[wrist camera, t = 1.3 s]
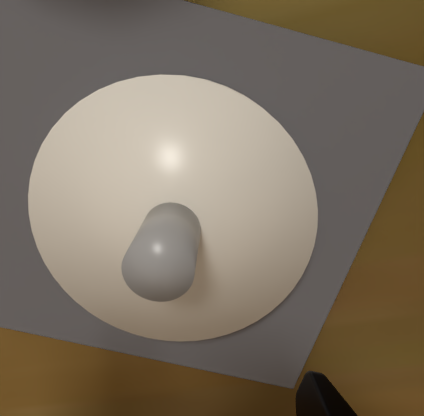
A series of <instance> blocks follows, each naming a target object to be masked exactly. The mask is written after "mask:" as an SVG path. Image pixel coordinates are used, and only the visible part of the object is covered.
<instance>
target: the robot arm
mask: <svg viewBox="0 0 424 416" xmlns="http://www.w3.org/2000/svg"><path fill="white" fill-rule="evenodd" d="M296 416H357V414H356V413H355V412H354V411H353V409H352V408H351V407H350V406H349V404H348V403H347V402H346V401H345V400H344V398H343V397H342V396H341V395H340V393H339V392H338V391H337V390H336V388H335V387H334V386H333V385H332V383H331V382H330V381H329V380H328V379H327V377H326V376H325V375H324V374H322V373H318V372H313V371H308V372H307V373H306V374H305V376H304V378H303V380H302V382H301V384H300V386H299V388H298V390H297V393H296Z"/></svg>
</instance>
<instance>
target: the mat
mask: <svg viewBox="0 0 424 416" xmlns="http://www.w3.org/2000/svg"><path fill="white" fill-rule="evenodd" d="M160 74H162V75H185V76H191V77H196V78H202V79H207V80H210V81H212V82H215V83H218V84H221V85H224V86H227V87H229V88H231V89H233V90H235V91H237V92H239V93H241V94H243V95H245V96H246V97H248V98H249V99H251V100H252V101H254V102H255V103H257V104H258V105H259V106H261V107H262V108H263V109H265V110H266V111H267V112H268V113H269V114H270V115H271V116H272V117H273V118H274V119H276V120H277V121H278V122H279V123H280V124H281V125H282V127H283V128H284V129H285V130H286V132H287V133H288V134H289V135H290V136H291V138H292V139H293V140H294V142H295V144H296V145H297V147H298V148H299V150H300V152H301V153H302V155H303V157H304V159H305V161H306V164H307V166H308V168H309V171H310V173H311V176H312V180H313V183H314V187H315V191H316V198H317V206H318V227H317V234H316V239H315V245H314V248H313V251H312V254H311V257H310V260H309V263H308V265H307V267H306V269H305V271H304V273H303V275H302V277H301V278H300V280H299V281H298V283H297V284H296V286H295V287H294V289H293V290H292V291H291V292H290V293H289V294H288V296H287V297H286V298H285V299H284V300H283V301H282V302H281V303H280V304H279V305H278V306H277V307H276V308H274V309H273V310H272V311H271V312H270V313H268V314H267V315H265V316H264V317H262V318H261V319H259V320H258V321H256V322H254V323H253V324H251V325H249V326H247V327H245V328H243V329H240V330H238V331H235V332H233V333H230V334H227V335H223V336H220V337H216V338H212V339H205V340H199V341H182V342H180V341H164V340H157V339H151V338H146V337H142V336H139V335H135V334H132V333H129V332H126V331H124V330H121V329H118V328H116V327H114V326H112V325H110V324H108V323H106V322H104V321H102V320H101V319H99V318H97V317H96V316H94V315H93V314H91V313H89V312H88V311H87V310H86V309H84V308H83V307H82V306H80V305H79V304H78V303H77V302H75V301H74V300H73V299H72V298H71V297H70V296H69V295H68V294H67V293H66V292H65V291H64V290H63V288H62V287H61V286H60V285H59V283H58V282H57V281H56V280H55V278H54V277H53V276H52V274H51V273H50V271H49V269H48V268H47V266H46V265H45V263H44V261H43V259H42V257H41V255H40V253H39V250H38V248H37V246H36V243H35V239H34V236H33V233H32V230H31V224H30V219H29V211H28V191H29V182H30V176H31V172H32V168H33V165H34V161H35V158H36V156H37V154H38V152H39V149H40V147H41V145H42V143H43V141H44V140H45V138H46V137H47V135H48V133H49V132H50V130H51V129H52V127H53V126H54V125H55V124H56V123H57V122H58V121H59V119H60V118H61V117H62V116H63V115H64V114H65V113H66V112H67V111H68V110H69V109H71V108H72V107H73V106H74V105H75V104H77V103H78V102H79V101H80V100H82V99H84V98H85V97H87V96H89V95H90V94H92V93H93V92H95V91H97V90H99V89H101V88H104V87H106V86H108V85H111V84H113V83H116V82H119V81H123V80H127V79H131V78H135V77H140V76H150V75H160ZM423 111H424V67H423V66H419V65H416V64H412V63H409V62H405V61H401V60H398V59H394V58H390V57H387V56H383V55H380V54H376V53H372V52H369V51H365V50H361V49H358V48H354V47H351V46H347V45H343V44H340V43H336V42H332V41H329V40H325V39H322V38H318V37H314V36H311V35H307V34H303V33H300V32H296V31H293V30H289V29H285V28H282V27H278V26H274V25H271V24H267V23H264V22H260V21H256V20H253V19H249V18H245V17H242V16H238V15H235V14H231V13H227V12H224V11H220V10H216V9H213V8H209V7H206V6H202V5H198V4H195V3H191V2H187V1H184V0H0V327H3V328H8V329H12V330H17V331H22V332H26V333H31V334H36V335H41V336H45V337H50V338H55V339H59V340H64V341H69V342H74V343H78V344H83V345H88V346H92V347H97V348H102V349H107V350H111V351H116V352H121V353H126V354H130V355H135V356H140V357H144V358H149V359H154V360H159V361H163V362H168V363H173V364H177V365H182V366H187V367H192V368H196V369H201V370H206V371H211V372H215V373H220V374H225V375H229V376H234V377H239V378H244V379H248V380H253V381H258V382H262V383H267V384H272V385H277V386H281V387H286V388H291V389H293V388H294V386H295V384H296V381H297V379H298V377H299V375H300V373H301V371H302V369H303V367H304V364H305V362H306V360H307V358H308V356H309V354H310V352H311V350H312V347H313V345H314V343H315V341H316V339H317V337H318V335H319V333H320V330H321V328H322V326H323V324H324V322H325V320H326V318H327V316H328V313H329V311H330V309H331V307H332V305H333V303H334V301H335V299H336V296H337V294H338V292H339V290H340V288H341V286H342V284H343V282H344V279H345V277H346V275H347V273H348V271H349V269H350V267H351V265H352V262H353V260H354V258H355V256H356V254H357V252H358V250H359V248H360V245H361V243H362V241H363V239H364V237H365V235H366V233H367V231H368V228H369V226H370V224H371V222H372V220H373V218H374V216H375V214H376V211H377V209H378V207H379V205H380V203H381V201H382V199H383V197H384V194H385V192H386V190H387V188H388V186H389V184H390V182H391V180H392V177H393V175H394V173H395V171H396V169H397V167H398V165H399V162H400V160H401V158H402V156H403V154H404V152H405V150H406V148H407V145H408V143H409V141H410V139H411V137H412V135H413V133H414V131H415V128H416V126H417V124H418V122H419V120H420V118H421V116H422V114H423Z"/></svg>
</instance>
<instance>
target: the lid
mask: <svg viewBox="0 0 424 416" xmlns="http://www.w3.org/2000/svg"><path fill="white" fill-rule="evenodd" d="M28 211H29V219H30V224H31V230H32V233H33V236H34V239H35V243H36V246H37V248H38V250H39V253H40V255H41V257H42V259H43V261H44V263H45V265H46V266H47V268H48V269H49V271H50V273H51V274H52V276H53V277H54V278H55V280H56V281H57V282H58V283H59V285H60V286H61V287H62V288H63V290H64V291H65V292H66V293H67V294H68V295H69V296H70V297H71V298H72V299H73V300H74V301H75V302H77V303H78V304H79V305H80V306H82V307H83V308H84V309H86V310H87V311H88V312H89V313H91V314H93V315H94V316H96V317H97V318H99V319H101V320H102V321H104V322H106V323H108V324H110V325H112V326H114V327H116V328H118V329H121V330H124V331H126V332H129V333H132V334H135V335H139V336H142V337H146V338H151V339H157V340H164V341H180V342H182V341H199V340H205V339H212V338H216V337H220V336H223V335H227V334H230V333H233V332H235V331H238V330H240V329H243V328H245V327H247V326H249V325H251V324H253V323H254V322H256V321H258V320H259V319H261V318H262V317H264V316H265V315H267V314H268V313H270V312H271V311H272V310H273V309H274V308H276V307H277V306H278V305H279V304H280V303H281V302H282V301H283V300H284V299H285V298H286V297H287V296H288V294H289V293H290V292H291V291H292V290H293V289H294V287H295V286H296V284H297V283H298V281H299V280H300V278H301V277H302V275H303V273H304V271H305V269H306V267H307V265H308V263H309V260H310V257H311V254H312V251H313V248H314V245H315V239H316V234H317V227H318V206H317V198H316V191H315V187H314V183H313V180H312V176H311V173H310V171H309V168H308V166H307V164H306V161H305V159H304V157H303V155H302V153H301V152H300V150H299V148H298V147H297V145H296V144H295V142H294V140H293V139H292V138H291V136H290V135H289V134H288V133H287V132H286V130H285V129H284V128H283V127H282V125H281V124H280V123H279V122H278V121H277V120H276V119H274V118H273V117H272V116H271V115H270V114H269V113H268V112H267V111H266V110H265V109H263V108H262V107H261V106H259V105H258V104H257V103H255V102H254V101H252V100H251V99H249V98H248V97H246V96H245V95H243V94H241V93H239V92H237V91H235V90H233V89H231V88H229V87H227V86H224V85H221V84H218V83H215V82H212V81H210V80H207V79H202V78H196V77H191V76H185V75H162V74H160V75H150V76H140V77H135V78H131V79H127V80H123V81H119V82H116V83H113V84H111V85H108V86H106V87H104V88H101V89H99V90H97V91H95V92H93V93H92V94H90V95H89V96H87V97H85V98H84V99H82V100H80V101H79V102H78V103H77V104H75V105H74V106H73V107H72V108H71V109H69V110H68V111H67V112H66V113H65V114H64V115H63V116H62V117H61V118H60V119H59V121H58V122H57V123H56V124H55V125H54V126H53V127H52V129H51V130H50V132H49V133H48V135H47V137H46V138H45V140H44V141H43V143H42V145H41V147H40V149H39V152H38V154H37V156H36V158H35V161H34V165H33V168H32V172H31V176H30V182H29V191H28Z"/></svg>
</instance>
